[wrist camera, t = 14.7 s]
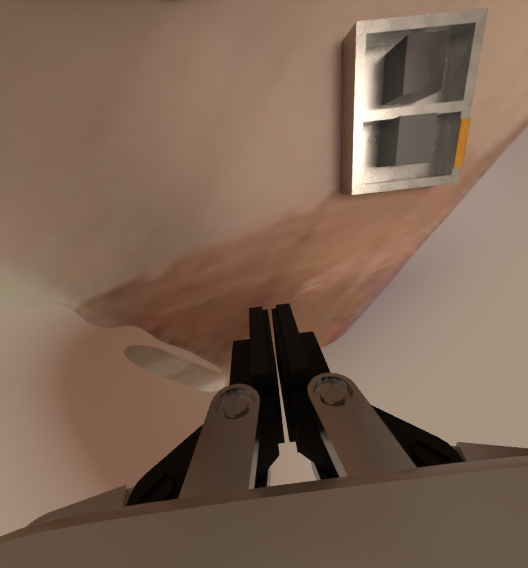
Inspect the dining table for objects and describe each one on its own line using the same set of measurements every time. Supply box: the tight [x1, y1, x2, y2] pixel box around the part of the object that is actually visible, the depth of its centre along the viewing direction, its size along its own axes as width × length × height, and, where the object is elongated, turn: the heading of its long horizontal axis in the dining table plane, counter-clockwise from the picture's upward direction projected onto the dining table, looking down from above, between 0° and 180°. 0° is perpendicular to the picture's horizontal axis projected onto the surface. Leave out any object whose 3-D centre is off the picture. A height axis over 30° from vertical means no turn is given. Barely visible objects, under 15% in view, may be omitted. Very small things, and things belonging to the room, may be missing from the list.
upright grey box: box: [377, 112, 438, 167], centre depth 30 cm, size 5×4×4 cm
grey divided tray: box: [341, 8, 488, 195], centre depth 30 cm, size 16×13×5 cm
